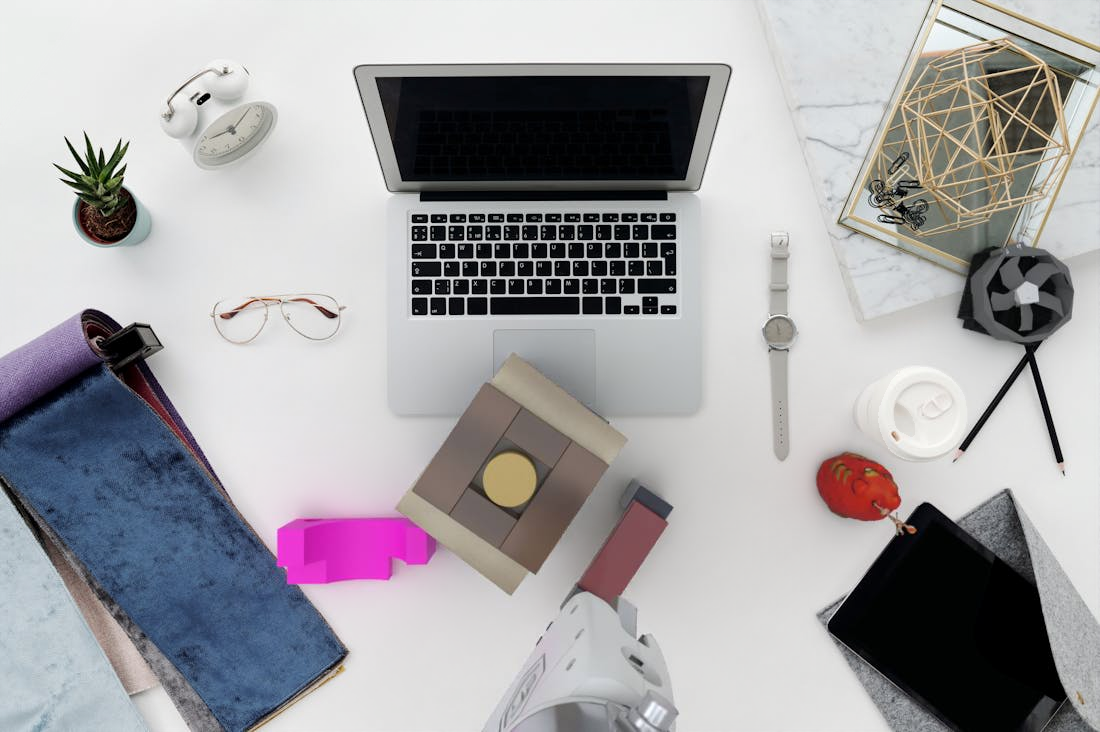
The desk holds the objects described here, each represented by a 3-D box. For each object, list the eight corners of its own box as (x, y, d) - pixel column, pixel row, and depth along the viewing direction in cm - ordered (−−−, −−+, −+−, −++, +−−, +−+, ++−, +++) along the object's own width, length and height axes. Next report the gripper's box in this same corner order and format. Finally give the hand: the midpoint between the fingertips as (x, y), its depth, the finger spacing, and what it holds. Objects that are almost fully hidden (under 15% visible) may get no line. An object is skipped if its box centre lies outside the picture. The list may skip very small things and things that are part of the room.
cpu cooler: (1064, 353, 81) (971, 326, 81) (1029, 355, 86) (942, 330, 86) (1088, 258, 81) (995, 232, 81) (1052, 267, 87) (965, 242, 87)
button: (518, 511, 60) (516, 517, 57) (475, 482, 60) (472, 487, 57) (546, 468, 60) (547, 472, 57) (504, 440, 60) (502, 442, 57)
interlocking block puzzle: (525, 541, 85) (518, 613, 58) (432, 478, 85) (382, 521, 58) (607, 420, 86) (637, 435, 59) (514, 358, 86) (502, 344, 59)
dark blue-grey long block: (599, 607, 85) (604, 628, 77) (554, 576, 85) (555, 595, 77) (674, 494, 85) (687, 504, 78) (629, 464, 85) (638, 471, 78)
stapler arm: (595, 630, 77) (597, 638, 74) (559, 605, 77) (560, 612, 74) (668, 521, 77) (672, 526, 75) (631, 497, 77) (635, 500, 75)
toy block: (300, 573, 85) (277, 591, 77) (300, 516, 85) (277, 529, 77) (436, 572, 85) (426, 589, 77) (436, 515, 85) (426, 527, 78)
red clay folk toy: (885, 464, 86) (958, 480, 71) (866, 524, 86) (936, 553, 71) (820, 443, 86) (879, 455, 71) (801, 503, 86) (857, 528, 71)
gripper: (611, 584, 28) (583, 506, 46) (378, 933, 28) (443, 715, 46) (781, 700, 28) (686, 576, 46) (551, 1051, 28) (547, 786, 46)
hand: (565, 646), depth 46 cm, fingers closed
